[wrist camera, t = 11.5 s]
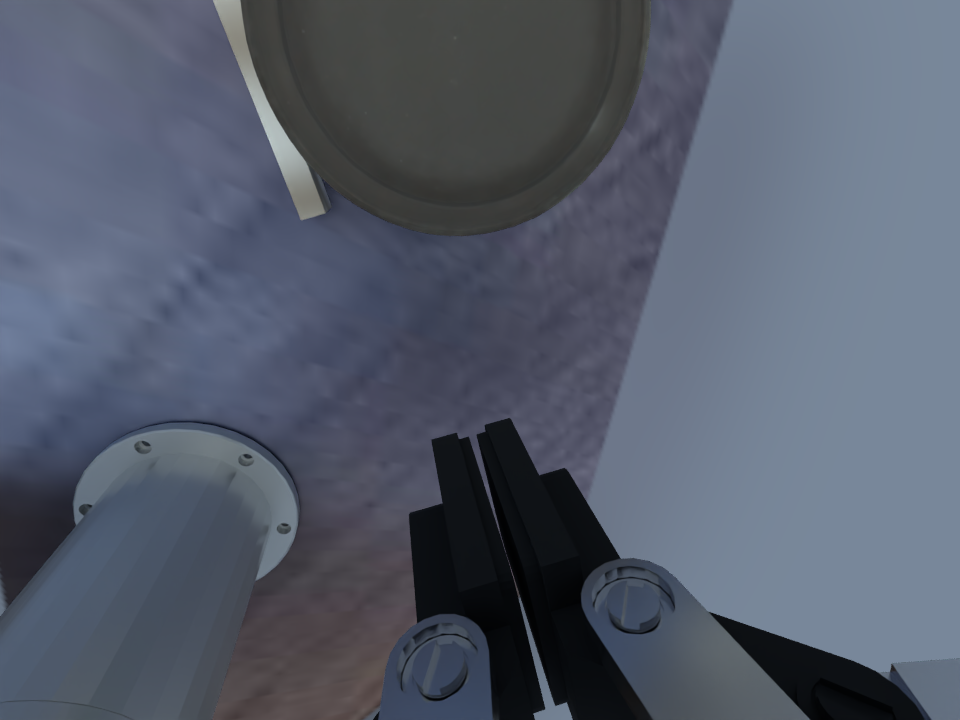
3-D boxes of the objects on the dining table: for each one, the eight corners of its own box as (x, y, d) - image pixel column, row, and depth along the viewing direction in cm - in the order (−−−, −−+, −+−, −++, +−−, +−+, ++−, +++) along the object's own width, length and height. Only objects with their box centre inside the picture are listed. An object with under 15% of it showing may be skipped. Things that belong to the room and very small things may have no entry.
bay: (585, 133, 27) (606, 131, 25) (309, 213, 27) (301, 220, 24) (529, -218, 22) (549, -271, 19) (176, -128, 21) (144, -171, 18)
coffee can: (538, 171, 28) (667, 187, 15) (356, 218, 27) (327, 277, 14) (501, -57, 24) (634, -305, 11) (284, -9, 23) (152, -211, 10)
